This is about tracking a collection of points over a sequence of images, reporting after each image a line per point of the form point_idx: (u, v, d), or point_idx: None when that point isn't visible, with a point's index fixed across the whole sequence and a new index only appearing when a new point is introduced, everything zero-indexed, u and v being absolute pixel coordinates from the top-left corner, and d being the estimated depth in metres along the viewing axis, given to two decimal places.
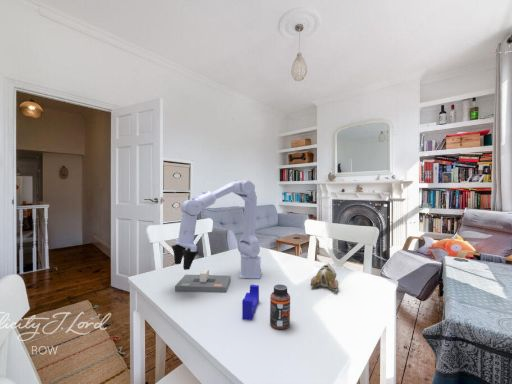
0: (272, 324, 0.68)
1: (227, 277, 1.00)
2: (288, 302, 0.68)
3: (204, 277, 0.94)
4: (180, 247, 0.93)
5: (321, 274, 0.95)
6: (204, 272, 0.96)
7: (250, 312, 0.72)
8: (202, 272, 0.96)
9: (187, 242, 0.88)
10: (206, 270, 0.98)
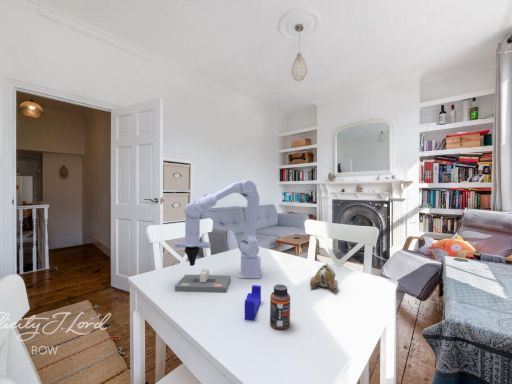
0: (272, 324, 0.68)
1: (227, 277, 1.00)
2: (288, 302, 0.68)
3: (204, 277, 0.94)
4: None
5: (320, 274, 0.95)
6: (204, 272, 0.96)
7: (252, 313, 0.72)
8: (202, 272, 0.96)
9: (198, 242, 0.96)
10: (206, 270, 0.98)
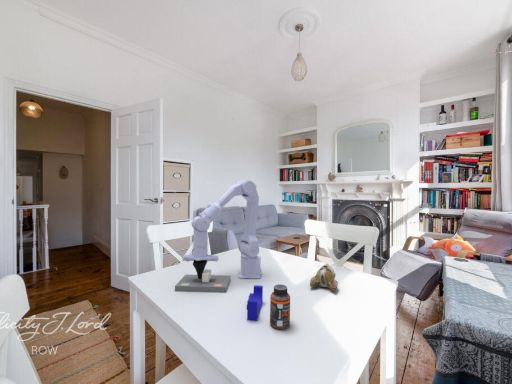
0: (272, 324, 0.68)
1: (227, 277, 1.00)
2: (288, 302, 0.68)
3: (207, 277, 0.94)
4: None
5: (320, 274, 0.95)
6: (207, 272, 0.96)
7: (255, 313, 0.72)
8: (205, 272, 0.96)
9: (206, 255, 0.96)
10: (208, 270, 0.98)
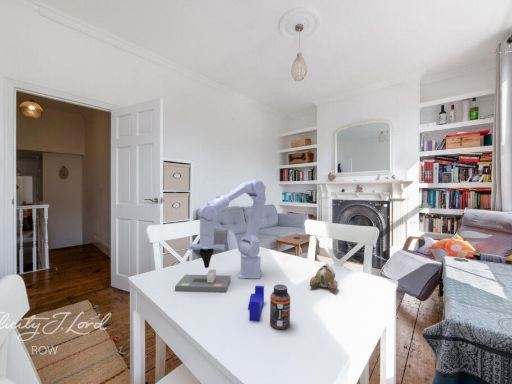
0: (272, 324, 0.68)
1: (227, 277, 1.00)
2: (288, 302, 0.68)
3: (212, 277, 0.94)
4: None
5: (320, 274, 0.95)
6: (211, 272, 0.96)
7: (257, 313, 0.71)
8: (210, 272, 0.96)
9: (213, 244, 0.96)
10: (213, 270, 0.98)
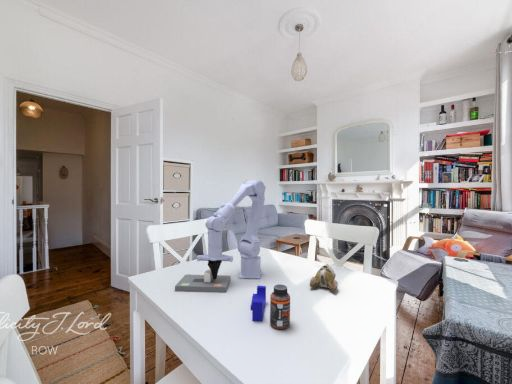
0: (272, 324, 0.68)
1: (227, 277, 1.00)
2: (288, 302, 0.68)
3: (208, 277, 0.94)
4: (214, 262, 0.97)
5: (320, 275, 0.95)
6: (208, 272, 0.96)
7: (260, 313, 0.71)
8: (207, 272, 0.96)
9: (221, 255, 0.96)
10: (210, 270, 0.98)
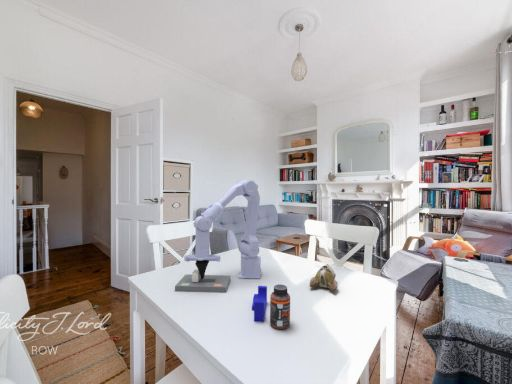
0: (272, 324, 0.68)
1: (227, 277, 1.00)
2: (288, 302, 0.68)
3: (196, 277, 0.95)
4: None
5: (320, 275, 0.94)
6: (196, 272, 0.96)
7: (262, 314, 0.71)
8: (195, 272, 0.96)
9: (208, 255, 0.96)
10: (198, 270, 0.98)
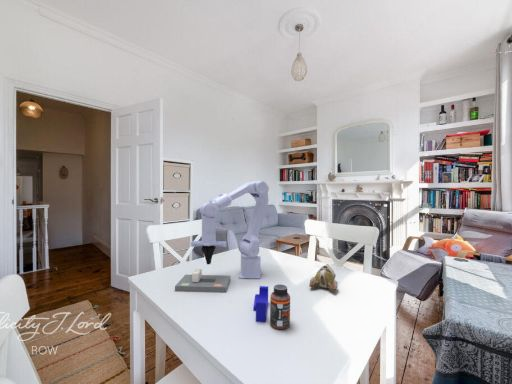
0: (272, 324, 0.68)
1: (227, 277, 1.00)
2: (288, 302, 0.68)
3: (197, 277, 0.95)
4: (208, 248, 0.98)
5: (320, 275, 0.94)
6: (197, 272, 0.96)
7: (264, 314, 0.71)
8: (195, 272, 0.96)
9: (215, 241, 0.97)
10: (199, 270, 0.98)
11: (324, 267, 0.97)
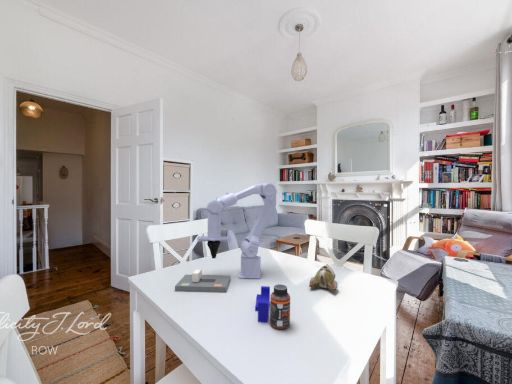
0: (272, 324, 0.68)
1: (227, 277, 1.00)
2: (288, 302, 0.68)
3: (197, 277, 0.95)
4: (213, 243, 1.04)
5: (320, 275, 0.94)
6: (197, 272, 0.96)
7: (266, 314, 0.71)
8: (195, 272, 0.96)
9: (220, 236, 1.03)
10: (199, 270, 0.98)
11: (324, 267, 0.97)
